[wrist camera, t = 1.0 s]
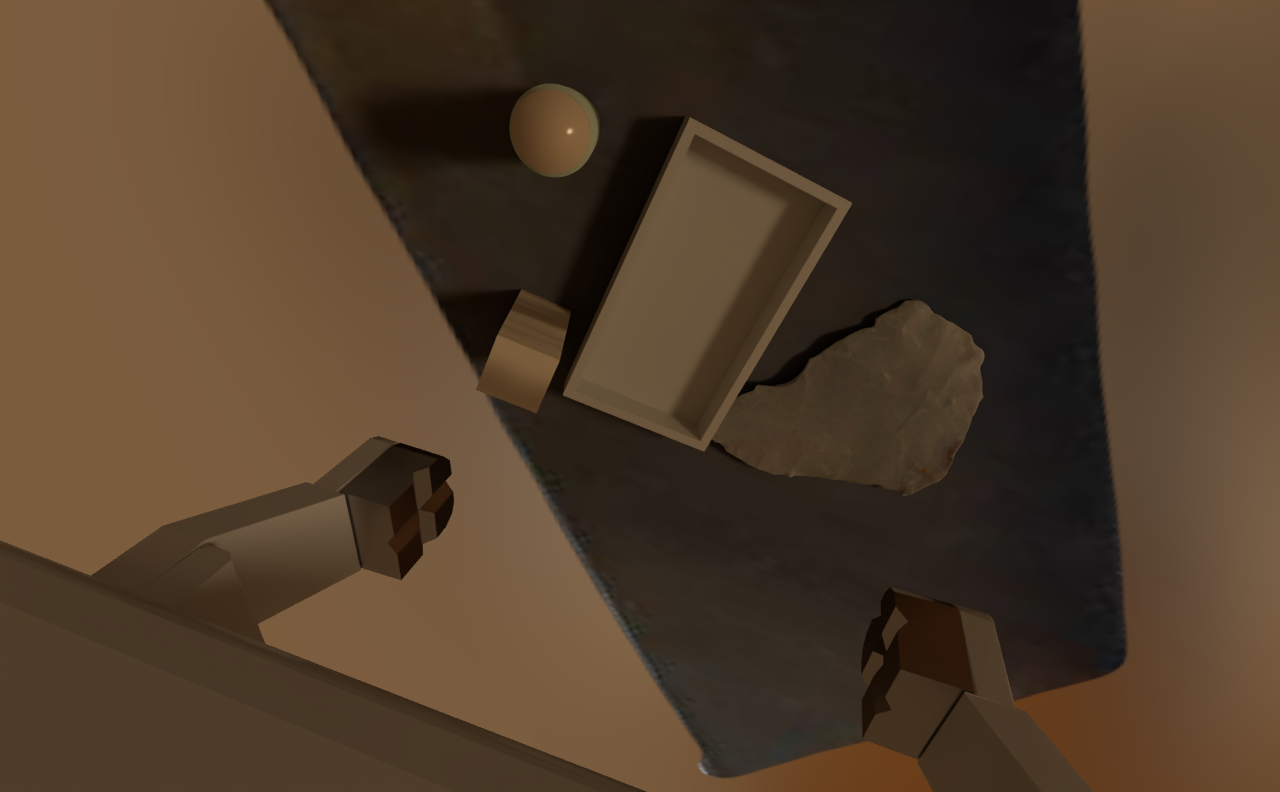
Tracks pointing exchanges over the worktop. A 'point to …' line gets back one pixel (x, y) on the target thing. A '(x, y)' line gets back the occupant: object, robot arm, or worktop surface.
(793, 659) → the worktop surface
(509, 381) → the birch block
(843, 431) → the stone tool
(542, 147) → the sage jar
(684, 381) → the beige tray
